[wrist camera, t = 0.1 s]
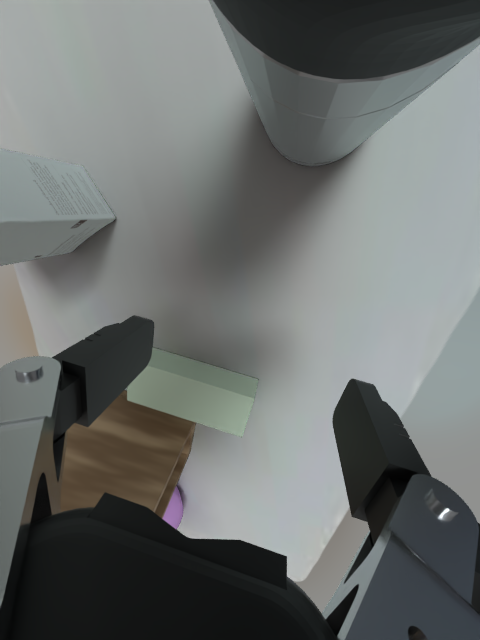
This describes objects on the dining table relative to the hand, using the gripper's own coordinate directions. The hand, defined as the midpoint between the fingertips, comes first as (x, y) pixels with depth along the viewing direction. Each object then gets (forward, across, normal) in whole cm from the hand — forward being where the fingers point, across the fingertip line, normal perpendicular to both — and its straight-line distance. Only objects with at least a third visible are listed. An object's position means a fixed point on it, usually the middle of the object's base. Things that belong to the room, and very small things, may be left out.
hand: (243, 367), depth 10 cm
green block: (+18, +6, +17) cm, 26 cm away
